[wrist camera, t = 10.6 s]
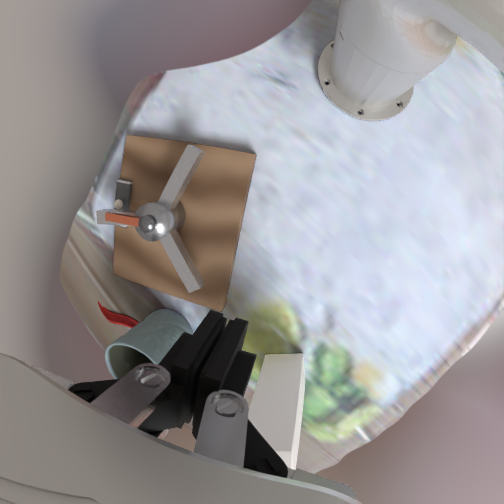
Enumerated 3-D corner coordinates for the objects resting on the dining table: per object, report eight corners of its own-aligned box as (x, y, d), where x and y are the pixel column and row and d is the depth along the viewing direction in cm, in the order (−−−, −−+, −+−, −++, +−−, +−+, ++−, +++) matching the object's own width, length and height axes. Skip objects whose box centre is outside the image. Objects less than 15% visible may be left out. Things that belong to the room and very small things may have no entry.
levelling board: (132, 135, 38) (126, 134, 37) (256, 154, 36) (254, 154, 34) (118, 271, 45) (113, 274, 44) (224, 306, 43) (221, 311, 41)
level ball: (118, 198, 39) (112, 199, 38) (125, 199, 39) (119, 201, 38) (117, 207, 39) (111, 208, 38) (124, 209, 39) (118, 210, 38)
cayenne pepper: (95, 306, 49) (89, 310, 48) (101, 289, 48) (95, 293, 46) (143, 345, 49) (138, 351, 47) (151, 330, 48) (146, 335, 46)
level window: (120, 178, 39) (117, 178, 38) (132, 180, 38) (130, 181, 38) (115, 223, 41) (113, 224, 40) (127, 227, 41) (125, 228, 40)
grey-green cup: (209, 335, 45) (179, 382, 34) (177, 365, 48) (147, 409, 37) (160, 292, 44) (118, 328, 33) (134, 327, 48) (96, 364, 37)
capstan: (109, 209, 40) (80, 217, 34) (206, 142, 35) (184, 138, 29) (157, 300, 43) (136, 320, 36) (263, 253, 37) (253, 270, 31)
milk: (265, 353, 44) (227, 469, 23) (304, 352, 42) (287, 473, 22) (269, 382, 45) (238, 493, 25) (306, 381, 44) (291, 497, 23)
